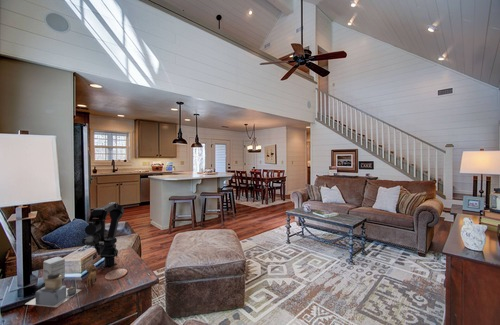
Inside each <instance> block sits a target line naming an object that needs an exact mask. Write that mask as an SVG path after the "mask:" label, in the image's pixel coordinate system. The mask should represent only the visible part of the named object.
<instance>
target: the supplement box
mask: <svg viewBox="0 0 500 325" xmlns="http://www.w3.org/2000/svg"><path fill="white" fill-rule="evenodd" d="M65 260H66V259H65V258H63V257H61V256H55V257H52V258H49V259H48V258H47V259H46V260H44V261H43V265H42V266H43V267H42V269H43V270H42V271H43V272H42V275H43V276H42V280H44V284H45V278H47V277H48V275H49V274H51V273H55V272H59V275H62V280H64V279H65V276H66V275H65V273H66V272H65V271H66V270H65V269H66V266H65V265H66V262H65Z"/></svg>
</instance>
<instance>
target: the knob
mask: <svg viewBox="0 0 500 325" xmlns="http://www.w3.org/2000/svg"><path fill="white" fill-rule="evenodd" d="M61 286H63V279H62V275H59V272H55V273H51V274H49V275H48V277H47V278H45V283H44V287H45V289H54V291H55V290H56V289H58V288H60V287H61Z"/></svg>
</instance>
